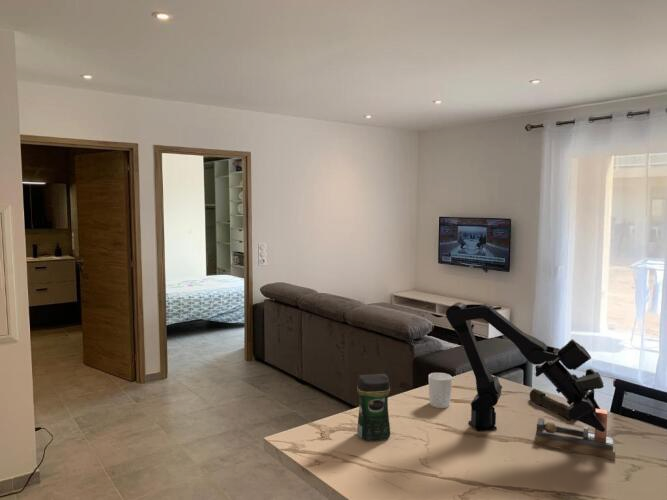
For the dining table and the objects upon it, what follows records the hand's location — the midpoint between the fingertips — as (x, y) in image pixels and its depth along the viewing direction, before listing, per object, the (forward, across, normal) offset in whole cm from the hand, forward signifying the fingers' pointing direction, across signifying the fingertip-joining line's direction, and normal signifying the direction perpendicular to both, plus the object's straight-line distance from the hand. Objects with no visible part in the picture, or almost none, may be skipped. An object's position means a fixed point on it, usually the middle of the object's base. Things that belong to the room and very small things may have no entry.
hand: (604, 424), depth 137 cm
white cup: (-29, +11, +40) cm, 51 cm away
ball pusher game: (0, 0, +10) cm, 10 cm away
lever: (+3, 0, +5) cm, 5 cm away
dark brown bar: (-5, +24, +16) cm, 29 cm away
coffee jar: (-37, -22, +48) cm, 64 cm away
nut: (-6, 0, +13) cm, 15 cm away
